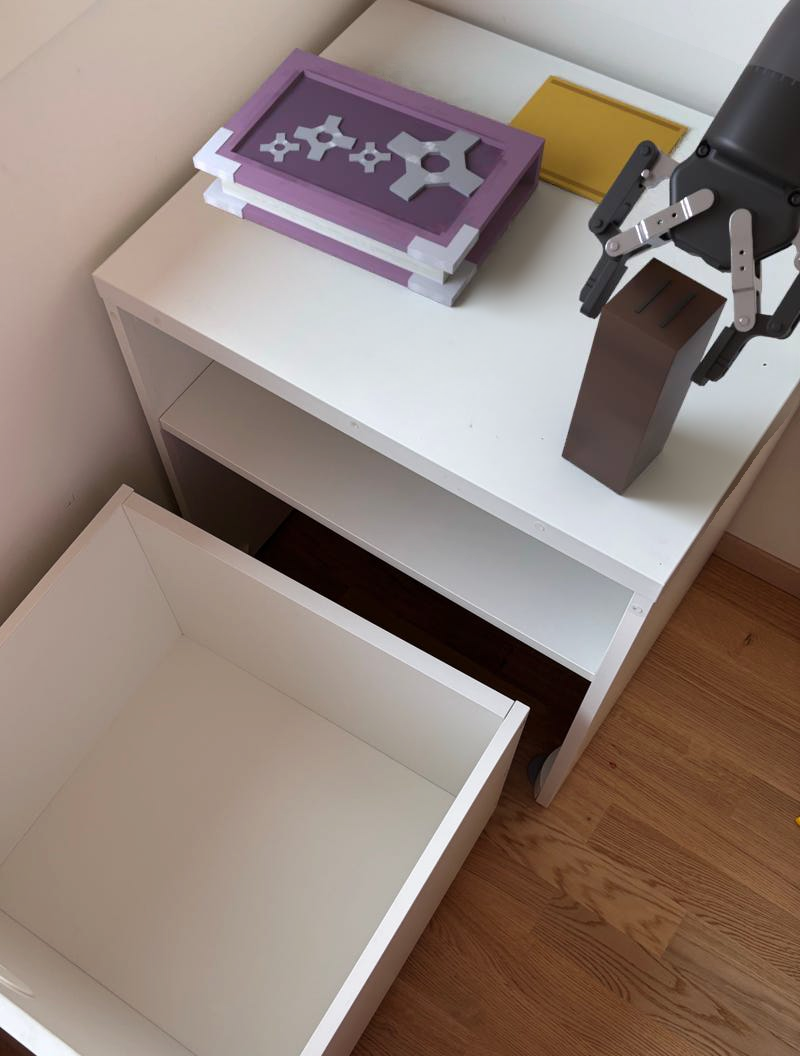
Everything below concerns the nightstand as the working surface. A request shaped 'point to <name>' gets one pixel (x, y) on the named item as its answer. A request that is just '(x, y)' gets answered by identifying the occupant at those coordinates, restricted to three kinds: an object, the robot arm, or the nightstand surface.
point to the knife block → (639, 372)
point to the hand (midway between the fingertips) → (641, 348)
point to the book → (372, 173)
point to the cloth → (589, 135)
